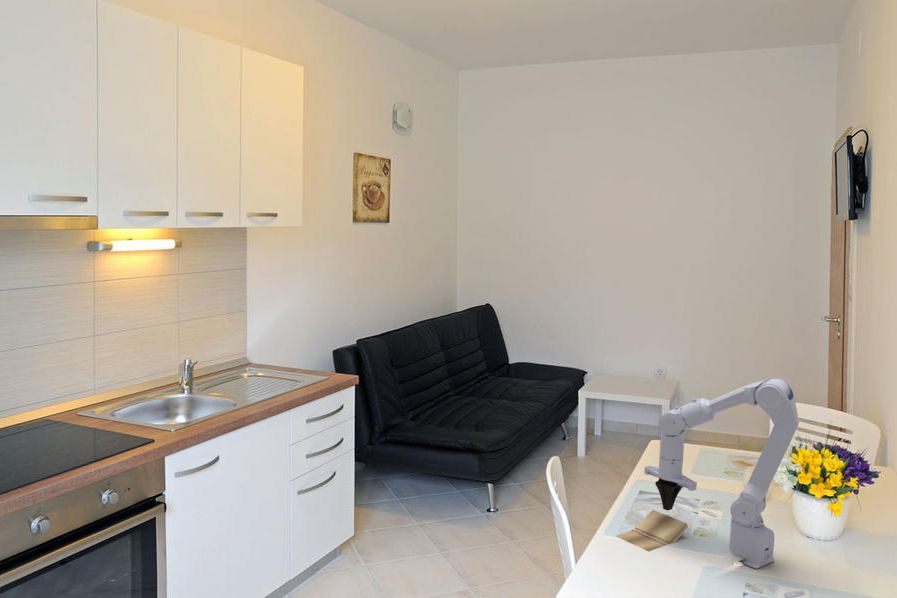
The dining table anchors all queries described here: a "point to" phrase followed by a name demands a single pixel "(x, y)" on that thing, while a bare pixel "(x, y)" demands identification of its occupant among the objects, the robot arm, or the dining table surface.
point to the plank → (662, 527)
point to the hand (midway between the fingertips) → (667, 509)
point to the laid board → (641, 540)
